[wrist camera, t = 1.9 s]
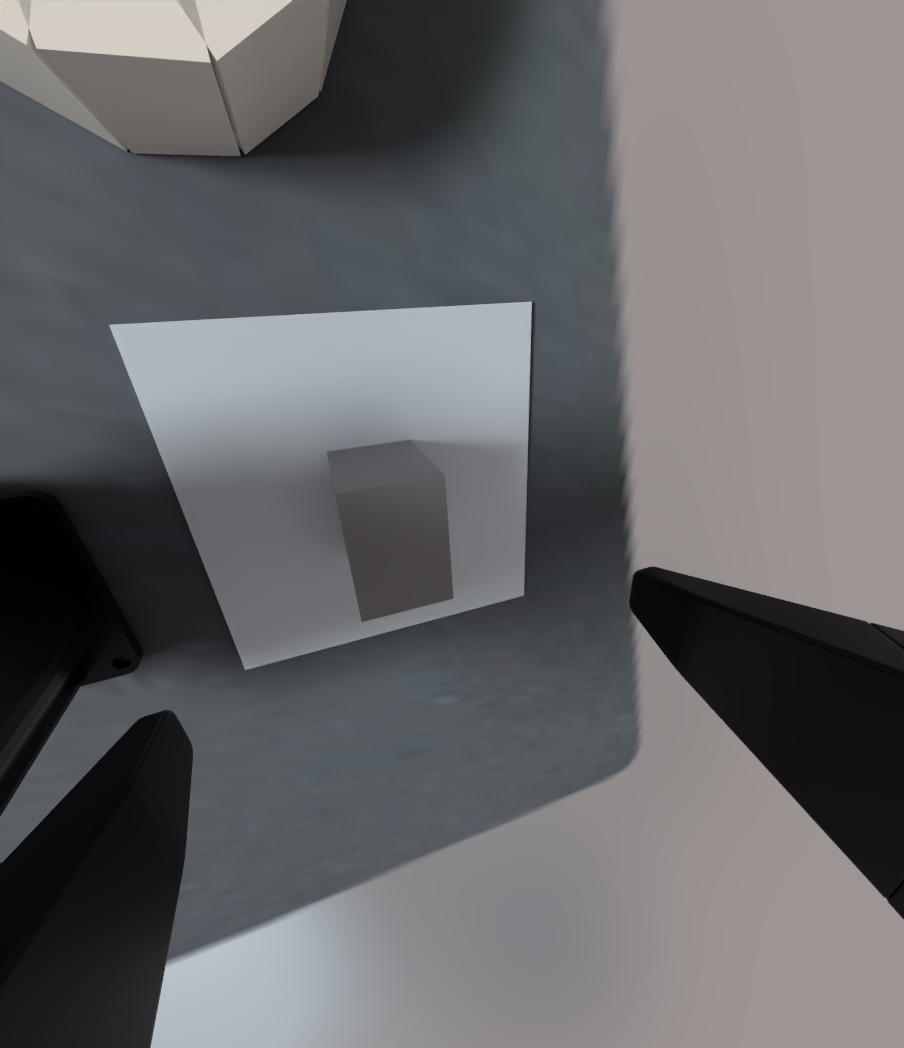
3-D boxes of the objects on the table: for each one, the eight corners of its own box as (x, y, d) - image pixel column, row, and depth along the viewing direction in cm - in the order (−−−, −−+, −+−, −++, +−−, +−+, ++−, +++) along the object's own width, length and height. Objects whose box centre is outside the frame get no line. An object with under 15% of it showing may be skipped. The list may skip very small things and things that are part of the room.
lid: (516, 586, 19) (573, 654, 15) (247, 655, 16) (229, 765, 12) (520, 303, 14) (611, 291, 10) (121, 325, 11) (13, 321, 7)
